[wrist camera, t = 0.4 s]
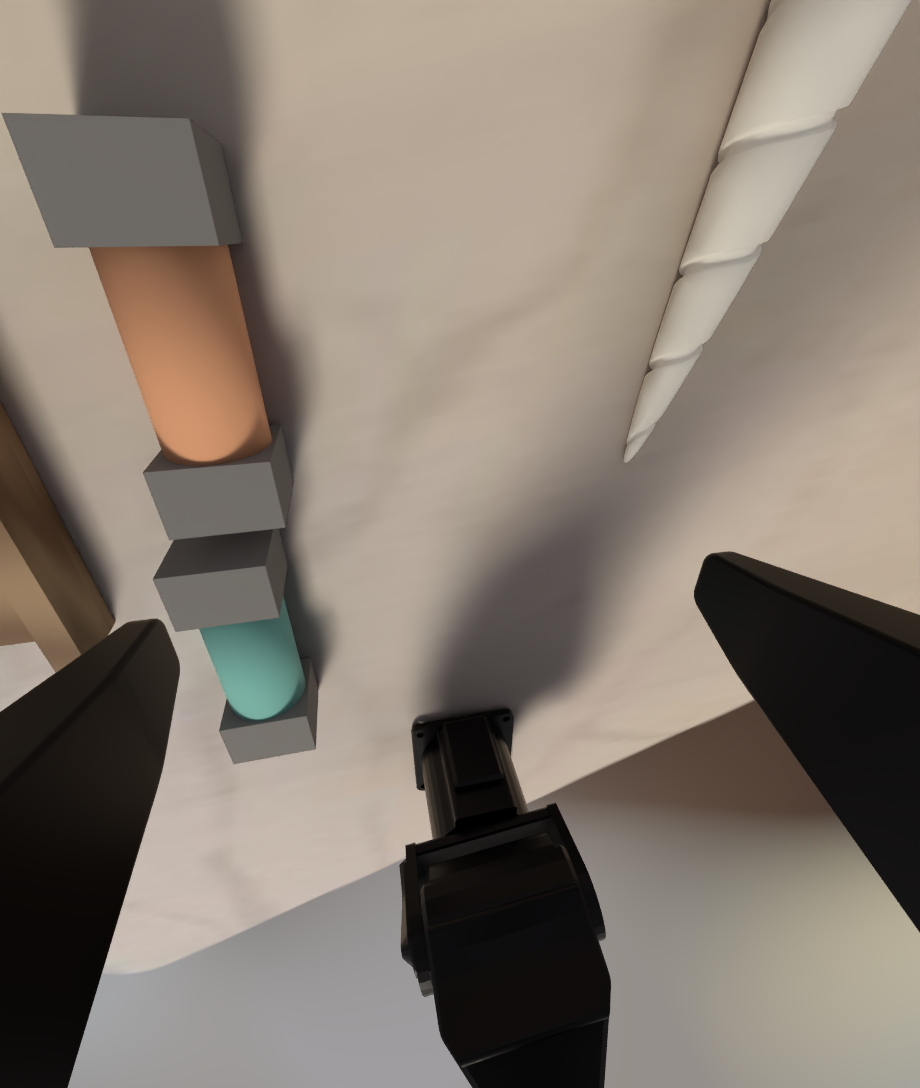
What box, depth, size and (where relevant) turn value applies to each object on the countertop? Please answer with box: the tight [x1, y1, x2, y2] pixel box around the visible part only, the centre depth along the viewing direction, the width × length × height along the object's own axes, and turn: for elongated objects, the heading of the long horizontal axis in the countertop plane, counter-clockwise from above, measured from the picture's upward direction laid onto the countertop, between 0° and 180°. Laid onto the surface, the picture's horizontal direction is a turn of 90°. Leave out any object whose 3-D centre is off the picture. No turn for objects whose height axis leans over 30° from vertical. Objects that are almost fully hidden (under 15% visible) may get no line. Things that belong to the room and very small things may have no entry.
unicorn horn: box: [624, 0, 911, 463], centre depth 15 cm, size 5×24×5 cm, turn 164°
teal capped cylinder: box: [153, 529, 318, 764], centre depth 22 cm, size 11×4×4 cm, turn 0°
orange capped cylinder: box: [2, 113, 294, 540], centre depth 15 cm, size 11×4×4 cm, turn 0°
